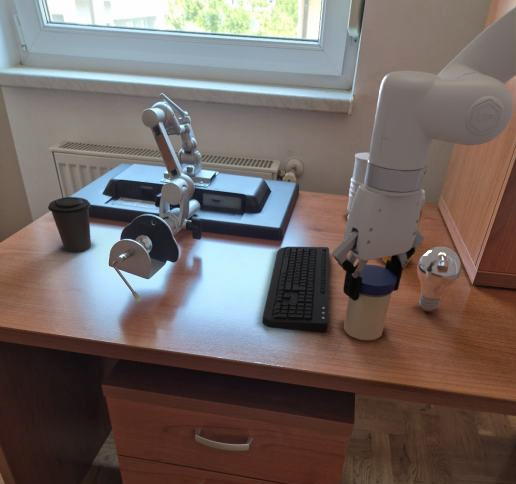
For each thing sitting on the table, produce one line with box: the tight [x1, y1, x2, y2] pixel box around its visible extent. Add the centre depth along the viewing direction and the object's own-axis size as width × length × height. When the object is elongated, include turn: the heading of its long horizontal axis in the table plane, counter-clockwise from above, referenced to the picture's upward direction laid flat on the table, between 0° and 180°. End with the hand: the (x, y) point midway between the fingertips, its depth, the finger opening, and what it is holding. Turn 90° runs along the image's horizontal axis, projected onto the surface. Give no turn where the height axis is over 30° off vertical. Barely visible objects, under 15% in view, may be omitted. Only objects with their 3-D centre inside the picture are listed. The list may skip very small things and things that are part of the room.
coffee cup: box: [47, 196, 92, 253], centre depth 98 cm, size 8×8×10 cm
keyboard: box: [261, 246, 330, 333], centre depth 90 cm, size 30×11×2 cm, turn 173°
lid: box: [359, 264, 397, 296], centre depth 74 cm, size 7×7×2 cm
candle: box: [346, 152, 369, 219], centre depth 115 cm, size 7×7×15 cm
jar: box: [343, 292, 393, 341], centre depth 76 cm, size 6×6×9 cm
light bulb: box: [416, 245, 462, 313], centre depth 81 cm, size 7×7×12 cm
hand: (370, 290), depth 75 cm, fingers closed on lid, 7 cm apart
